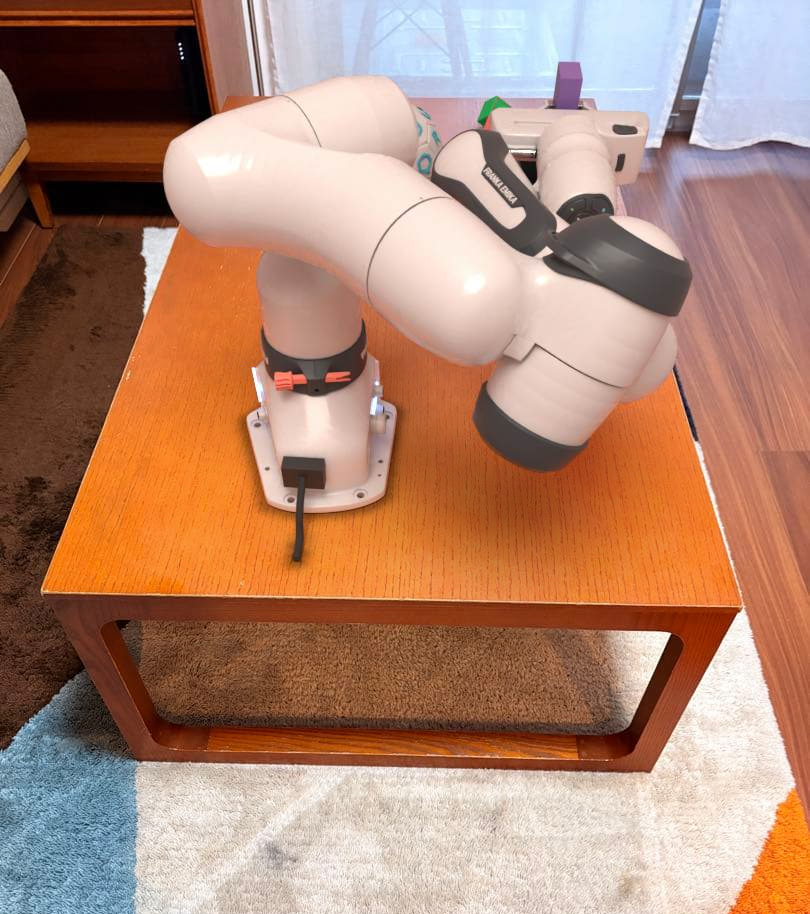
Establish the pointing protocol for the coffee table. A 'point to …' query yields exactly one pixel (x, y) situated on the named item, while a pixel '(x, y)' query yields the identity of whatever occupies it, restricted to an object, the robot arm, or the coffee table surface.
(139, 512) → the coffee table surface
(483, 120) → the building blocks
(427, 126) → the puzzle ball
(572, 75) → the purple rectangular block
